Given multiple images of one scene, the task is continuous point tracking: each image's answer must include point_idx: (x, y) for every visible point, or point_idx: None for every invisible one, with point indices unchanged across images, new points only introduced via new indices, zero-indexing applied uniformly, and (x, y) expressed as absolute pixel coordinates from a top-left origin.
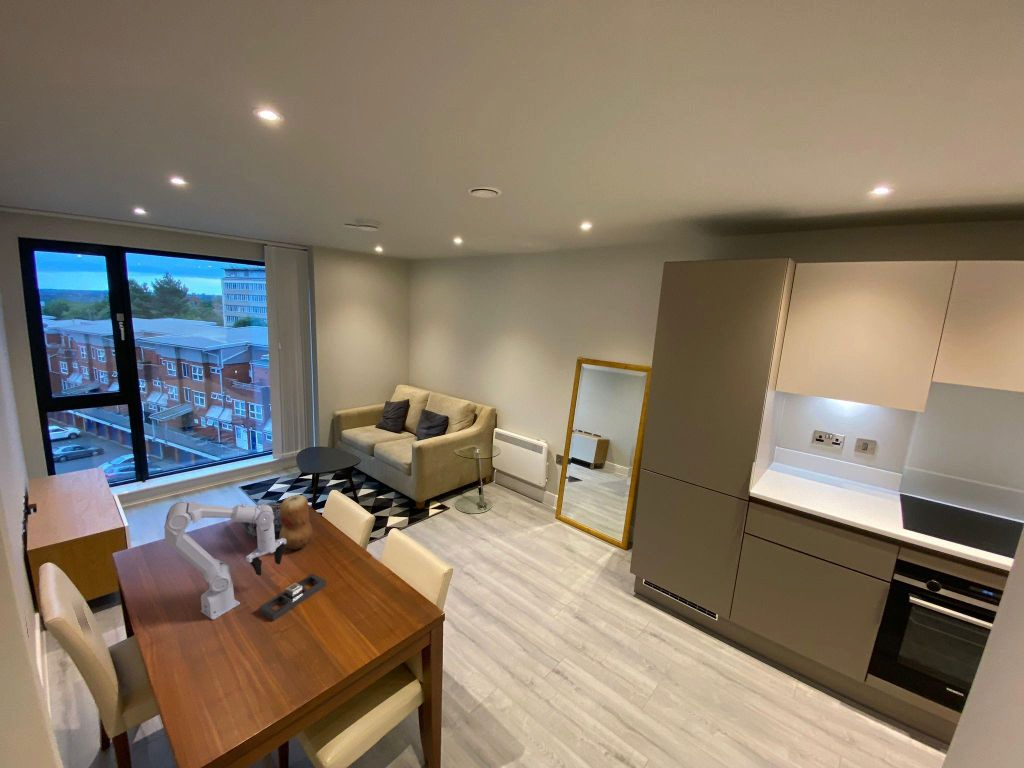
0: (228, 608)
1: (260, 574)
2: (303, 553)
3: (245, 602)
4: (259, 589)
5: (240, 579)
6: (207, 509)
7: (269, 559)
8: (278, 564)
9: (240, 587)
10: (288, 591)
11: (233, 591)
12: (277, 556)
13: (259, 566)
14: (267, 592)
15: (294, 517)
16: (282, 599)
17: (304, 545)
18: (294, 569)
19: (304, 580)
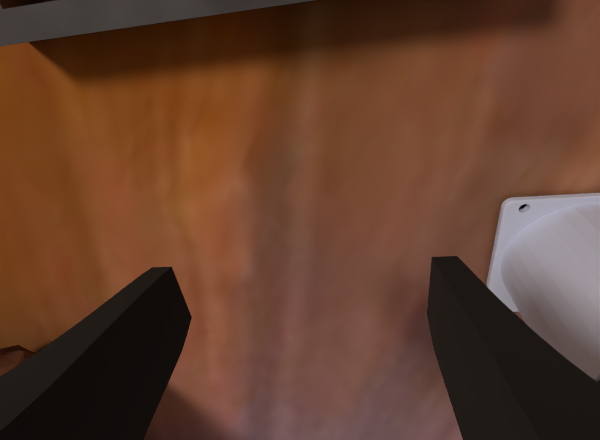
0: (593, 205)
1: (447, 261)
2: (44, 313)
3: (473, 187)
4: (345, 232)
5: (358, 362)
6: None
7: (196, 381)
8: (172, 272)
9: (395, 318)
10: None
11: (573, 291)
12: (114, 390)
13: (571, 403)
14: (330, 168)
15: None
16: None
17: (4, 352)
18: (117, 238)
19: (64, 5)
